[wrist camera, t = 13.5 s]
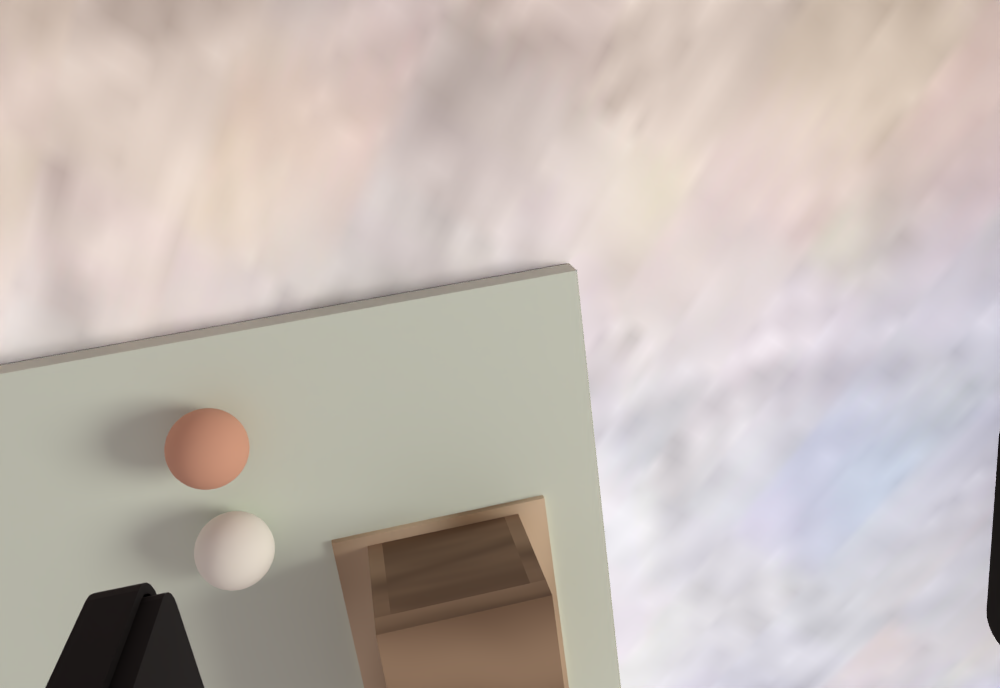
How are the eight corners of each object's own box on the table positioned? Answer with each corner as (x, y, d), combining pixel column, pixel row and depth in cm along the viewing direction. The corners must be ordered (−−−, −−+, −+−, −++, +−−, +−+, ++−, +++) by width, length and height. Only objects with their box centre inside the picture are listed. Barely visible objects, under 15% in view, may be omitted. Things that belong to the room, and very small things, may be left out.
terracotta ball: (242, 389, 34) (235, 420, 31) (259, 459, 35) (254, 494, 32) (162, 404, 34) (147, 436, 31) (182, 474, 35) (170, 512, 32)
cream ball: (267, 490, 36) (263, 528, 33) (283, 554, 37) (280, 596, 34) (190, 506, 35) (179, 545, 32) (209, 570, 36) (199, 614, 34)
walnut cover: (367, 546, 37) (375, 635, 31) (518, 513, 38) (552, 595, 32) (407, 735, 40) (421, 847, 35) (544, 702, 41) (579, 805, 36)
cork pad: (542, 494, 38) (544, 498, 38) (569, 701, 42) (571, 705, 42) (331, 539, 37) (331, 543, 37) (378, 748, 41) (379, 752, 40)
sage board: (568, 263, 36) (576, 270, 35) (614, 680, 43) (621, 696, 42) (-114, 385, 33) (-129, 397, 32) (56, 816, 40) (49, 838, 39)
